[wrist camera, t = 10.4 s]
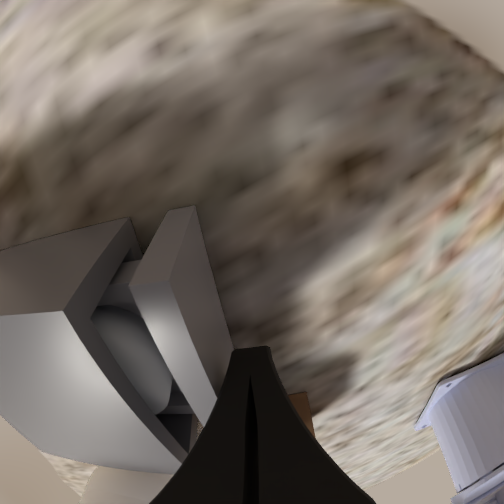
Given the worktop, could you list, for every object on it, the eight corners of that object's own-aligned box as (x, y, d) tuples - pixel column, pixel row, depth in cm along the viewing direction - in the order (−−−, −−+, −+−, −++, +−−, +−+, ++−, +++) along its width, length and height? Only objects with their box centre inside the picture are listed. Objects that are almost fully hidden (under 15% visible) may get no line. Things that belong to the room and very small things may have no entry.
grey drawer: (208, 202, 10) (190, 277, 6) (254, 386, 16) (259, 460, 11) (1, 251, 11) (-53, 308, 7) (89, 391, 16) (70, 449, 12)
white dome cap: (169, 309, 11) (159, 343, 9) (180, 394, 13) (176, 424, 12) (45, 294, 10) (25, 322, 9) (80, 378, 13) (69, 405, 11)
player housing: (129, 216, 11) (62, 311, 6) (200, 388, 16) (193, 475, 11) (-18, 256, 11) (-77, 319, 6) (66, 387, 16) (42, 451, 11)
